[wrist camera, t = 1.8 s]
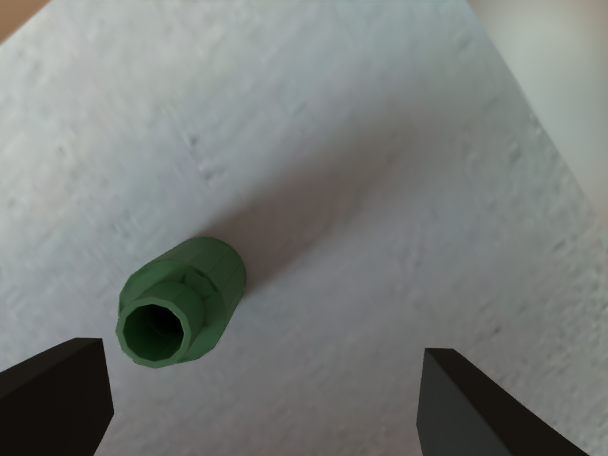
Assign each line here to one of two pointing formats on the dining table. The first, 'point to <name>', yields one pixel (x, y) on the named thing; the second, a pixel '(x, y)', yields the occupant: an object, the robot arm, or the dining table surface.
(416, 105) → the dining table surface
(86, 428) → the robot arm
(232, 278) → the bottle
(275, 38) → the dining table surface
